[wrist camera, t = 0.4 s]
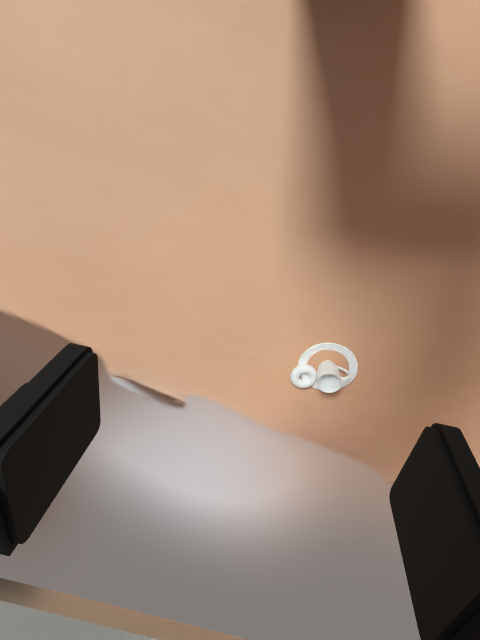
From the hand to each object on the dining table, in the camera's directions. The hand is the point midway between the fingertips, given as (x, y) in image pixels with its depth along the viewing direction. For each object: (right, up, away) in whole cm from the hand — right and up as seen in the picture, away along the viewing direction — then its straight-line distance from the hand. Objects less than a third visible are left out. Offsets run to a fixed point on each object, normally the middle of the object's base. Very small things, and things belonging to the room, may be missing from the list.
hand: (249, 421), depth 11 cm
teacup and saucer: (+9, -1, +40) cm, 41 cm away
